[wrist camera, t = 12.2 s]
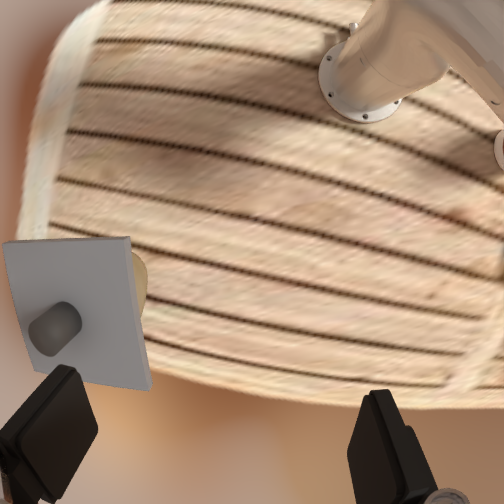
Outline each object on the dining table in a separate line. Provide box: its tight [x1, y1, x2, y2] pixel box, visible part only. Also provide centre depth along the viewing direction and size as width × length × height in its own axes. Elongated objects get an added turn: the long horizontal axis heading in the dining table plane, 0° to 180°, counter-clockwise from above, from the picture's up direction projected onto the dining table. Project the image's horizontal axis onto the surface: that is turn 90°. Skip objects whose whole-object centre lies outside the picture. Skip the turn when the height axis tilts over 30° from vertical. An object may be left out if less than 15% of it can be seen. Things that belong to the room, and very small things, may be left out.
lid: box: [2, 236, 153, 391], centre depth 29 cm, size 17×17×6 cm
